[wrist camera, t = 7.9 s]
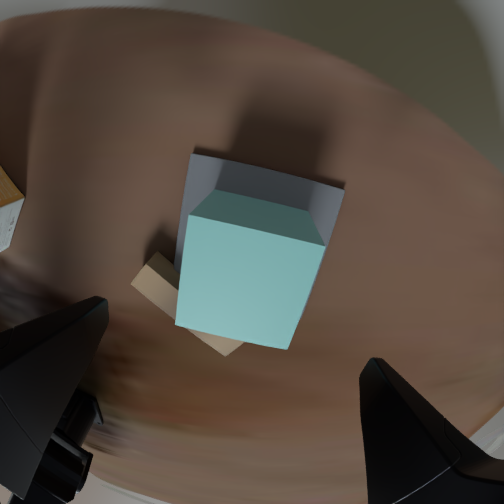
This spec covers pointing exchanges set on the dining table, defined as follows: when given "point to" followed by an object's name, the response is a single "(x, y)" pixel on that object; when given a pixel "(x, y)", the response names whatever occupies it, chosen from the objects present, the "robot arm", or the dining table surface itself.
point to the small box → (8, 209)
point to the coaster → (257, 194)
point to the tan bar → (173, 297)
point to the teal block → (247, 268)
